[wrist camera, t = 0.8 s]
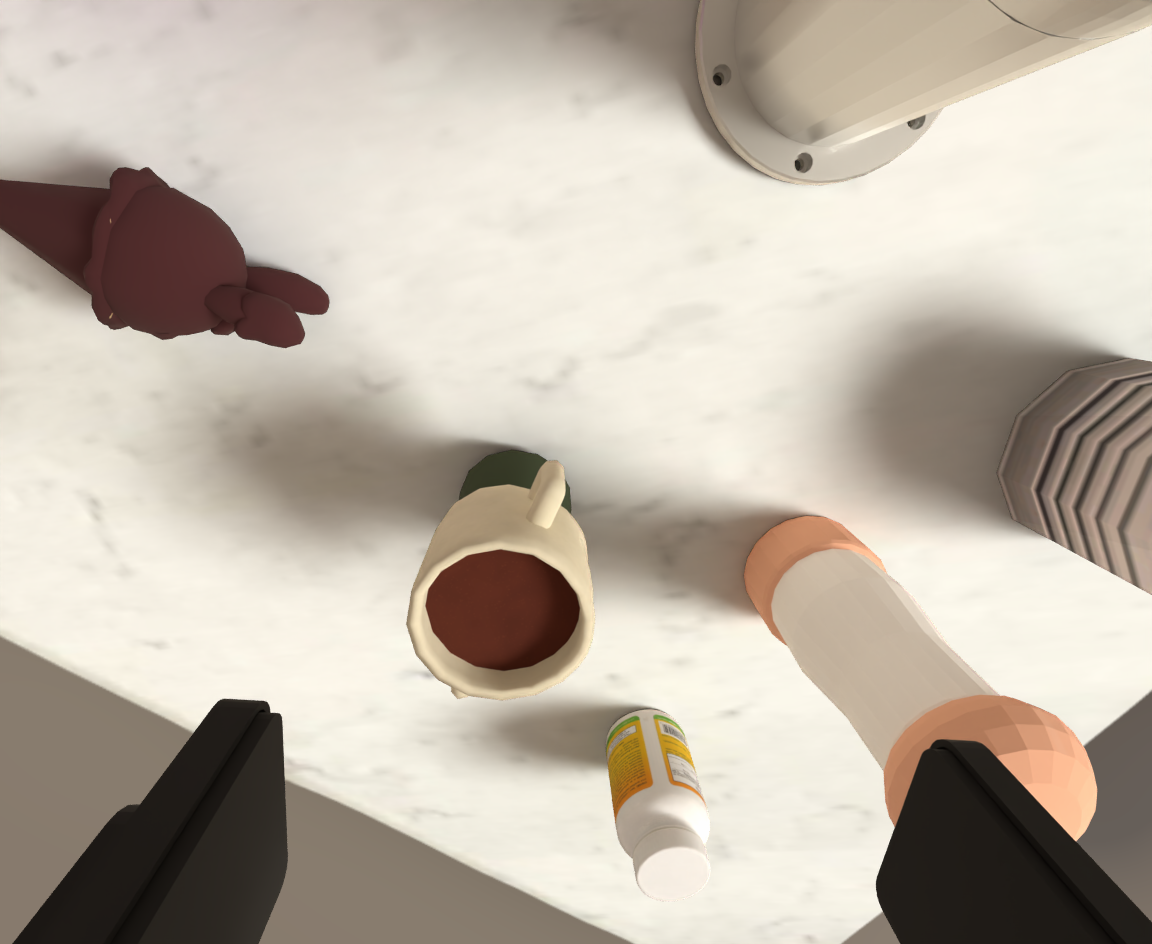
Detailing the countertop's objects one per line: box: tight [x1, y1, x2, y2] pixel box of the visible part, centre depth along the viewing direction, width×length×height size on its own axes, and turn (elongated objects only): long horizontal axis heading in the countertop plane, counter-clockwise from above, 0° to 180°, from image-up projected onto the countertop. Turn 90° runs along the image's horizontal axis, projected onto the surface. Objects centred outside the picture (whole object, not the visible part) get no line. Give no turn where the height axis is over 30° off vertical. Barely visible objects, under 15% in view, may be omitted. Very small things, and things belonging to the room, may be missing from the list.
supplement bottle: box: [606, 709, 710, 901], centre depth 36 cm, size 5×5×10 cm
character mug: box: [406, 450, 595, 700], centre depth 29 cm, size 11×7×13 cm, turn 156°
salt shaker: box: [744, 516, 1097, 841], centre depth 28 cm, size 7×7×19 cm
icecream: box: [0, 167, 329, 348], centre depth 27 cm, size 7×7×15 cm
